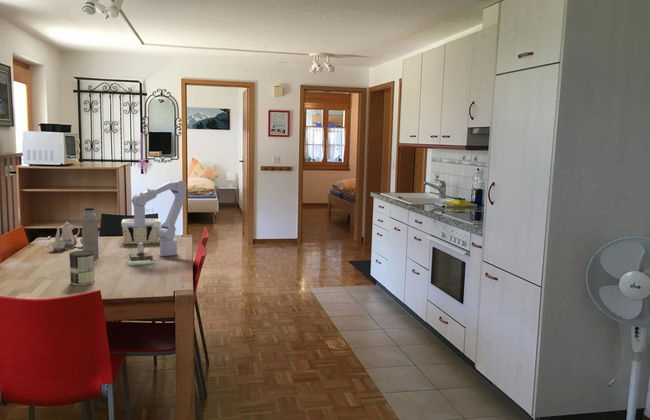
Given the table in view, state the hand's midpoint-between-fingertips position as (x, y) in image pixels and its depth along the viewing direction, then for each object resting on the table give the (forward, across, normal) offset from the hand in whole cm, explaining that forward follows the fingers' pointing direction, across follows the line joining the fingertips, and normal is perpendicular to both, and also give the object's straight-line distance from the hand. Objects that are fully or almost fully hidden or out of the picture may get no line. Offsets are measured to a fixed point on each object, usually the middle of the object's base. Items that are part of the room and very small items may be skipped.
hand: (140, 240), depth 296 cm
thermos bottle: (+10, +25, -12) cm, 30 cm away
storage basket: (+11, -7, -50) cm, 52 cm away
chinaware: (+11, +35, -46) cm, 59 cm away
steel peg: (+10, 0, 0) cm, 10 cm away
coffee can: (+10, +31, +42) cm, 53 cm away
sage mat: (+10, +2, +11) cm, 15 cm away
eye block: (+10, 0, 0) cm, 10 cm away
